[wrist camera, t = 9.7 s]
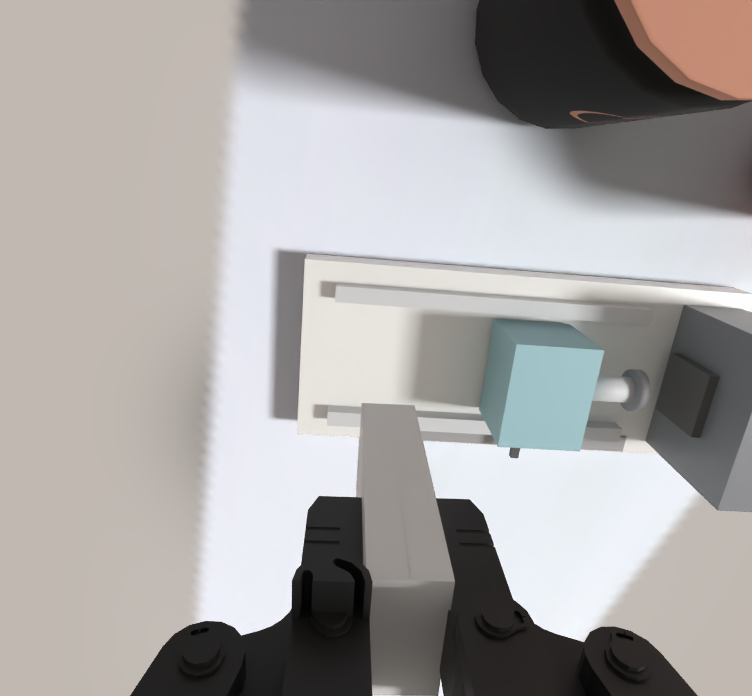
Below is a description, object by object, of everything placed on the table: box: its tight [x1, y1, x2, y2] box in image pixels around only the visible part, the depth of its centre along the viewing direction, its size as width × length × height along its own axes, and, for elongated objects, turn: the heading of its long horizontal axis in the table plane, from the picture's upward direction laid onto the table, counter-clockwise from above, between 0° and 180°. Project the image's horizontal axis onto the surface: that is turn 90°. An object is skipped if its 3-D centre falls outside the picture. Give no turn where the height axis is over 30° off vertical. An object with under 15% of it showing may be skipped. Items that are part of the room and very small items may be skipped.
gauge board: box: [297, 254, 752, 512], centre depth 33 cm, size 12×29×10 cm, turn 85°
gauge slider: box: [479, 319, 651, 458], centre depth 34 cm, size 9×9×5 cm
